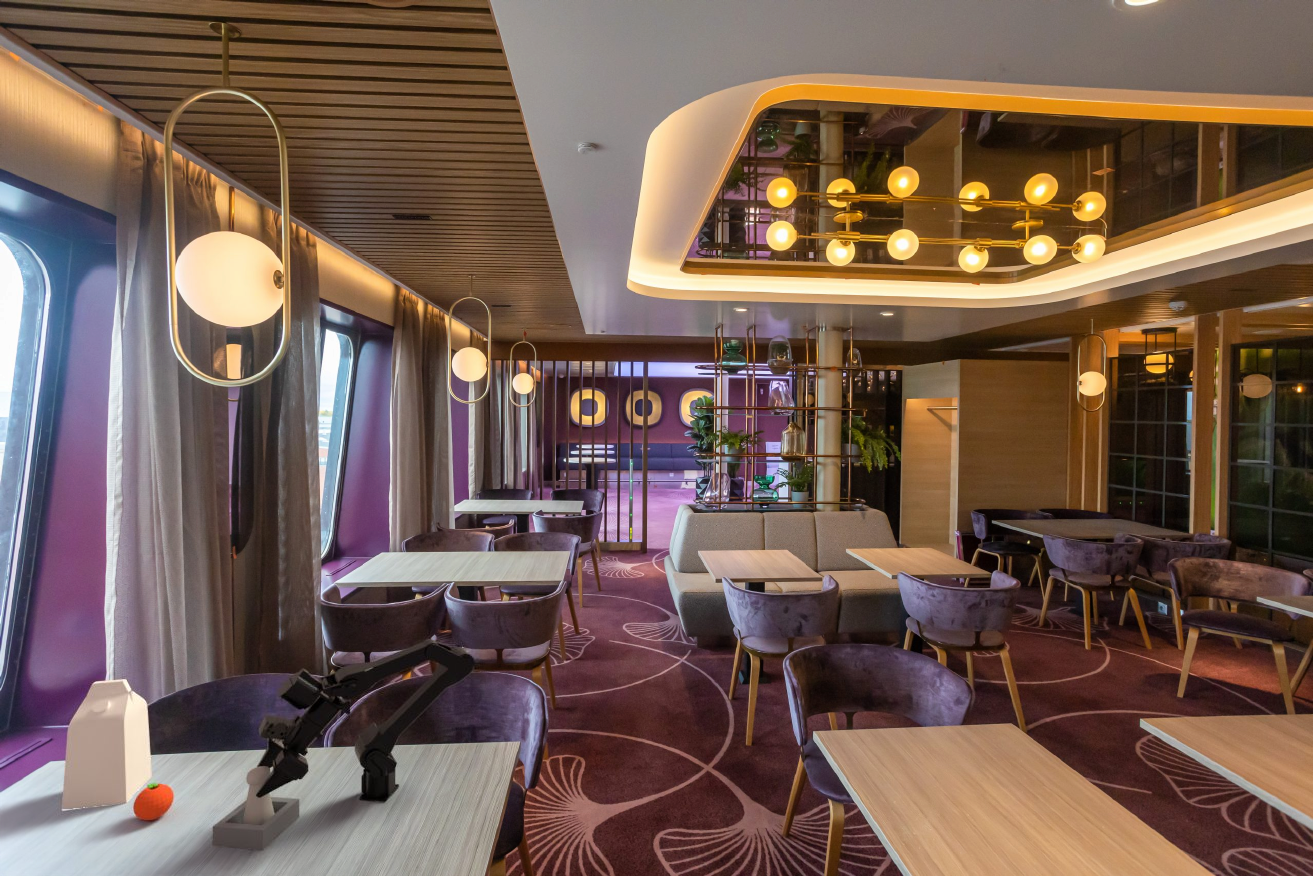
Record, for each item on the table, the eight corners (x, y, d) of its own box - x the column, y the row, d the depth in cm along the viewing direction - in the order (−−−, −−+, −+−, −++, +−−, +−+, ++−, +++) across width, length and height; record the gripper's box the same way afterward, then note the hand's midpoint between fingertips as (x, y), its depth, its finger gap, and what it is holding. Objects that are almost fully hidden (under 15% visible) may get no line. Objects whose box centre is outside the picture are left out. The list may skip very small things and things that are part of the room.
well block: (299, 817, 138) (299, 799, 138) (263, 850, 127) (263, 830, 127) (252, 813, 139) (252, 795, 139) (212, 846, 128) (212, 826, 128)
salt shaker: (272, 818, 138) (272, 759, 137) (276, 832, 133) (277, 770, 133) (240, 829, 134) (240, 768, 134) (243, 843, 129) (244, 780, 129)
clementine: (127, 817, 137) (127, 785, 137) (166, 802, 143) (166, 771, 143) (138, 832, 133) (138, 798, 133) (178, 816, 138) (178, 783, 138)
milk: (151, 776, 154) (152, 670, 154) (126, 803, 143) (126, 688, 142) (92, 783, 150) (92, 674, 150) (61, 811, 139) (61, 694, 139)
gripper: (280, 686, 143) (221, 749, 137) (290, 717, 128) (224, 789, 122) (319, 712, 148) (263, 774, 142) (333, 744, 133) (272, 815, 127)
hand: (255, 786), depth 133 cm, fingers open, 9 cm apart
